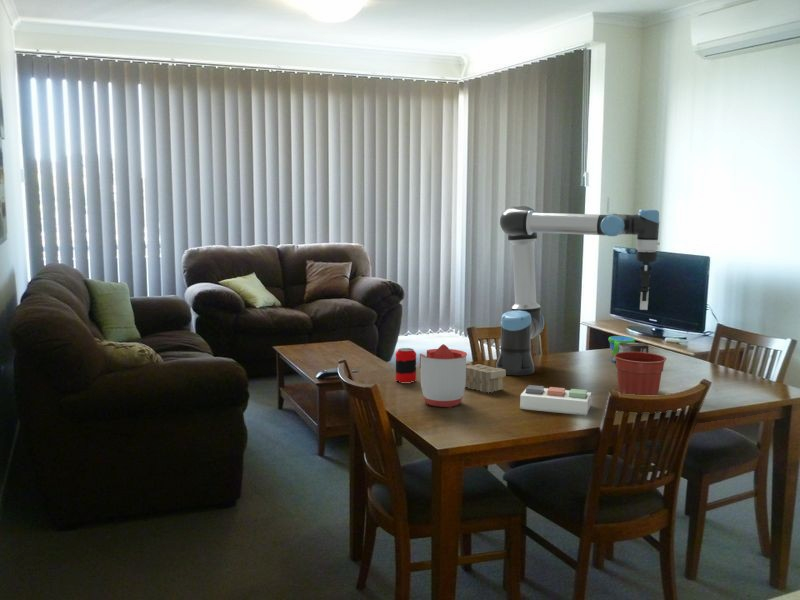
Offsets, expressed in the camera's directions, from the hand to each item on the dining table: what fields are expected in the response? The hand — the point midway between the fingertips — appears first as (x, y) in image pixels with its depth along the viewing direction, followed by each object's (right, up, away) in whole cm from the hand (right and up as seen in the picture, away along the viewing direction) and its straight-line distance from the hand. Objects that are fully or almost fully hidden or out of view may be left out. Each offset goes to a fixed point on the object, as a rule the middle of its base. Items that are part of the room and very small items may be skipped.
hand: (643, 307), depth 283 cm
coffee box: (-8, -29, -12) cm, 33 cm away
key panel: (-41, -32, -38) cm, 65 cm away
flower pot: (-13, -32, -33) cm, 48 cm away
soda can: (-90, -28, -3) cm, 94 cm away
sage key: (-35, -30, -41) cm, 61 cm away
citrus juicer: (-79, -32, -33) cm, 91 cm away
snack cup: (0, -23, +30) cm, 38 cm away
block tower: (-67, -29, -8) cm, 74 cm away
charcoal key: (-48, -29, -36) cm, 66 cm away
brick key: (-41, -29, -38) cm, 64 cm away
